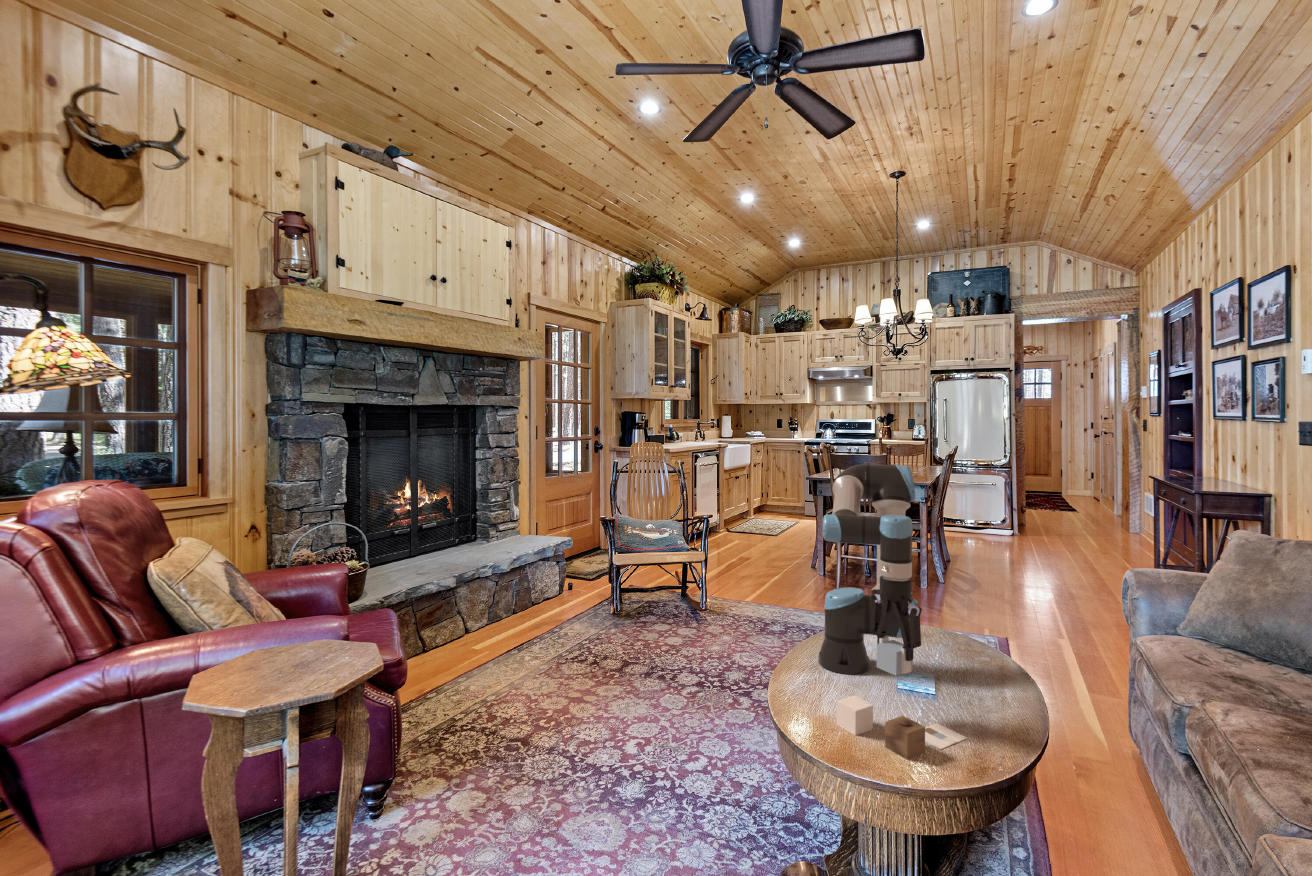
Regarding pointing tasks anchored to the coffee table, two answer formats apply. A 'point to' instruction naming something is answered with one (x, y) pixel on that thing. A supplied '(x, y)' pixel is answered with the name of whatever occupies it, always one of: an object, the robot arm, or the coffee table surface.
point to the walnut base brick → (905, 737)
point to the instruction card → (941, 736)
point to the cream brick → (854, 715)
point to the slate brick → (890, 657)
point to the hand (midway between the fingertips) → (894, 667)
